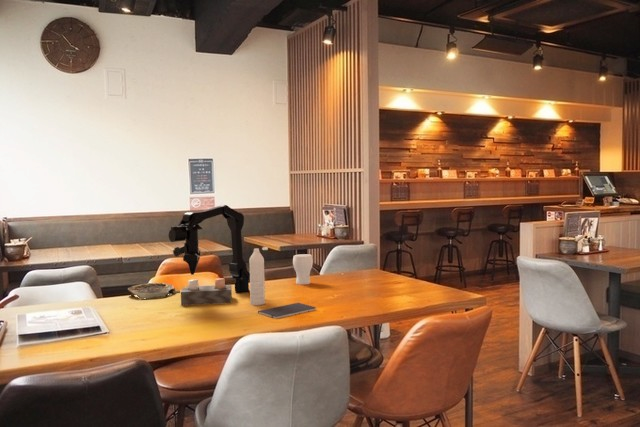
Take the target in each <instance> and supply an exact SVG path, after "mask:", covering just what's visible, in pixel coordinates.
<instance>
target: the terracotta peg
mask: <svg viewBox="0 0 640 427" xmlns="http://www.w3.org/2000/svg"><path fill="white" fill-rule="evenodd" d="M225 283H226V281H225V278H224V277H223V278H221V277H220V278H215V279H214V285H215V289H225V285H226V284H225Z"/></svg>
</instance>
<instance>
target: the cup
mask: <svg viewBox="0 0 640 427" xmlns="http://www.w3.org/2000/svg"><path fill="white" fill-rule="evenodd" d="M313 265H314V259H313V256H312V254H309V253H308V254H305V253H302V254H295V255H293V258H292V266H293V269H294V271H295V272H296V280H295V284H296V285H300V286H301V285H302V286H303V285H311V278H310V275H311V271H312V269H313Z"/></svg>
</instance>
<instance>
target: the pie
mask: <svg viewBox="0 0 640 427" xmlns="http://www.w3.org/2000/svg"><path fill="white" fill-rule="evenodd" d="M127 290H128V292H130V293H131V295H132V297H133V296H134V295H137V296H138V297H139V298H141V301H143V300H144V299H143V298H147V299H146V300H152V299H153V300H154V299H155V298H154V297H156V298H160V297H159V296H161V297H162V299H165V298H166V296H165V295H167V297H170V296H172V295H173V294H176V293H181V290H179V289H177V290H176V289H175V287H174V285H173V284H169V283H166V282H152V283H151V282H150V283H149V282H148V283H140V284H136V285H135V284H134V285H132V286H130V287H128V288H127ZM170 292H171V293H170ZM168 294H169V295H168ZM155 300H156V299H155Z"/></svg>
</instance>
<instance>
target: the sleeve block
mask: <svg viewBox="0 0 640 427" xmlns="http://www.w3.org/2000/svg"><path fill="white" fill-rule="evenodd" d="M232 299H233V296H232V284H225V289H215V284H214V285H198V290H189V288H188V286H183V288H182V289H181V290H180V306H197V305H198V306H199V305H216V304H231V303H232Z"/></svg>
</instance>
